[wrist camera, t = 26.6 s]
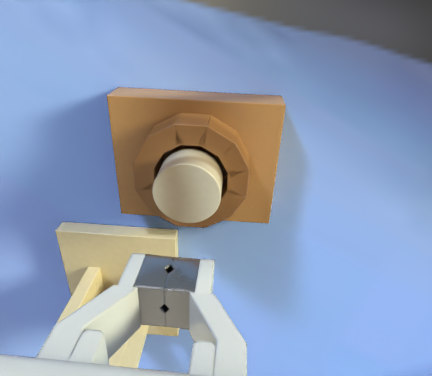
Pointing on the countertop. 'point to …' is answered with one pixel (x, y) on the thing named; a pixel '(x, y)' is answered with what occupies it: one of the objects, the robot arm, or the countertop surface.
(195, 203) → the button
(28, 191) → the countertop surface
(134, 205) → the button block
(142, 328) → the crank bracket
